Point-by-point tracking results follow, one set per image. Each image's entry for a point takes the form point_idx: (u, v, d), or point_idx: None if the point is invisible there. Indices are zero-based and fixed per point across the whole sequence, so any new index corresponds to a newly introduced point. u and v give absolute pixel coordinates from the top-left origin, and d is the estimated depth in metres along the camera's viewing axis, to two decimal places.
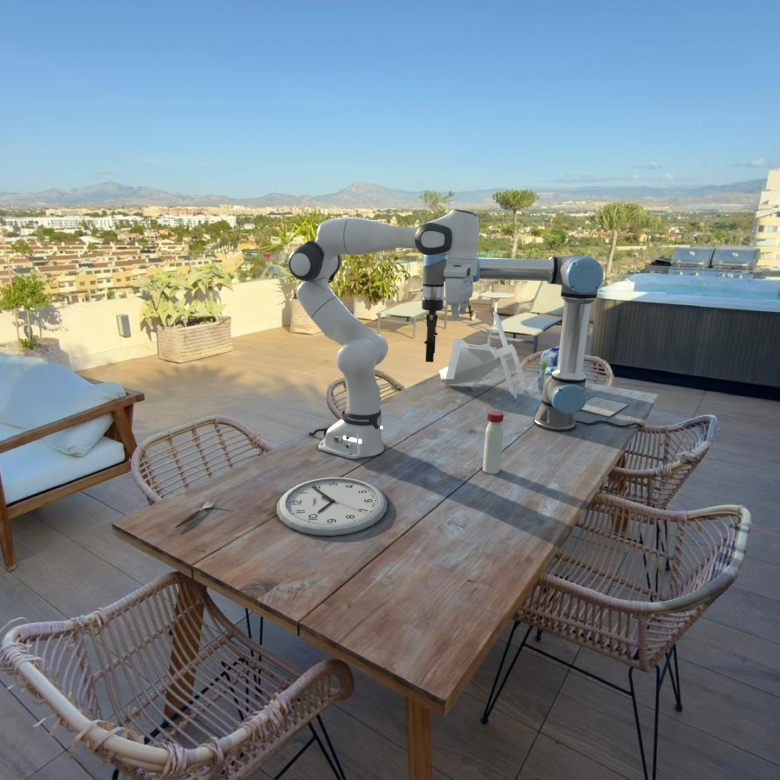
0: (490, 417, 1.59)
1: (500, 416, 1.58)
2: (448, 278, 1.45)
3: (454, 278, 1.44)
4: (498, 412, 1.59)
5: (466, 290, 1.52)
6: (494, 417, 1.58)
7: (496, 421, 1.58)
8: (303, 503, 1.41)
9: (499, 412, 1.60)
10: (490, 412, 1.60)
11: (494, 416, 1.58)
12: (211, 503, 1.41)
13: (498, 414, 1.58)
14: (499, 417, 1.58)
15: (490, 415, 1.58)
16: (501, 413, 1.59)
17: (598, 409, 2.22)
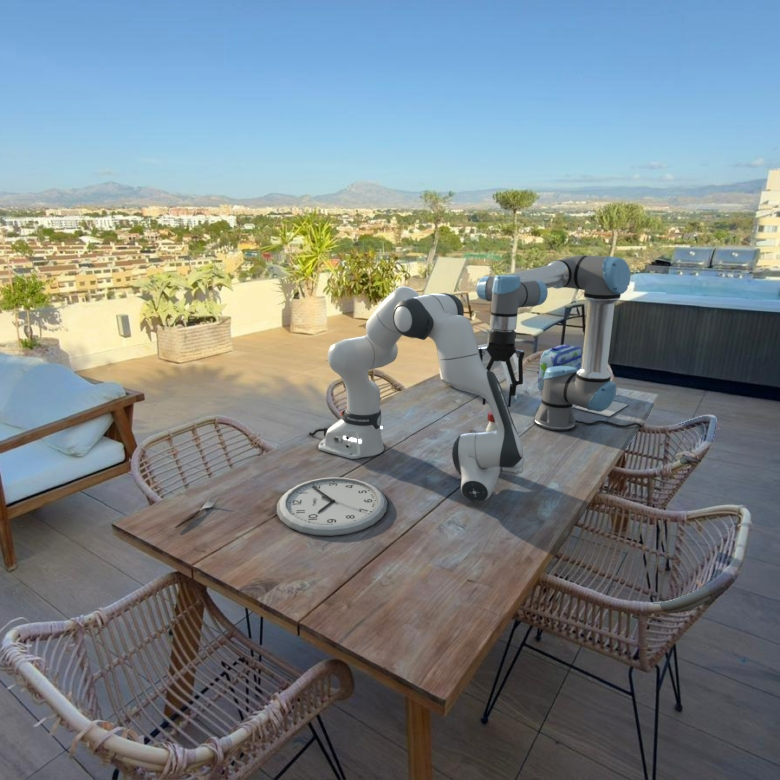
0: (490, 417, 1.59)
1: None
2: None
3: None
4: None
5: None
6: None
7: None
8: (303, 503, 1.41)
9: None
10: (490, 412, 1.60)
11: None
12: (211, 503, 1.41)
13: None
14: None
15: (490, 415, 1.58)
16: None
17: None
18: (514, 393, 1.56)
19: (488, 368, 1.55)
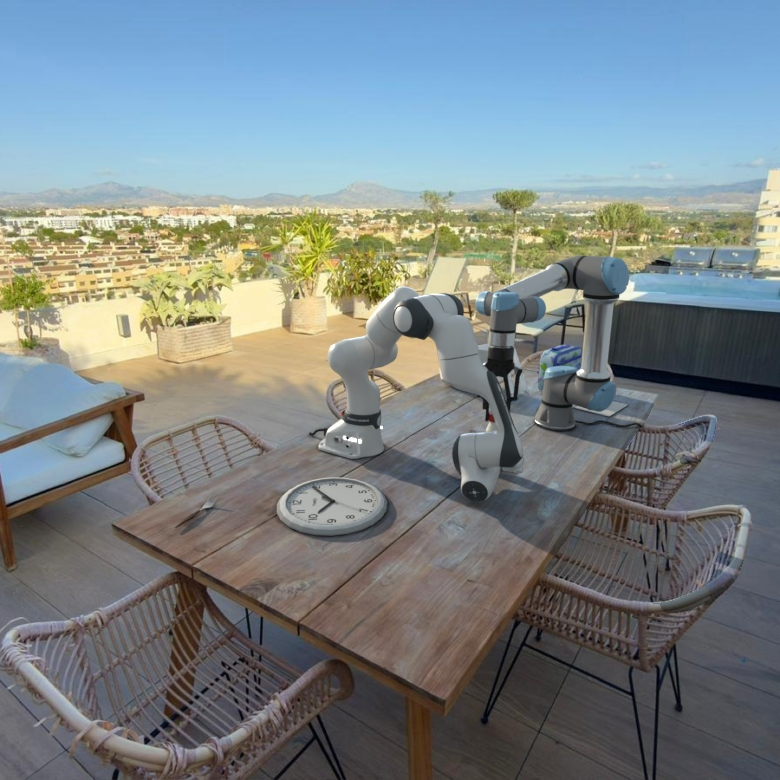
0: (490, 417, 1.59)
1: None
2: None
3: None
4: None
5: None
6: None
7: None
8: (303, 503, 1.41)
9: None
10: (490, 412, 1.60)
11: None
12: (211, 503, 1.41)
13: None
14: None
15: (490, 415, 1.58)
16: None
17: None
18: (509, 409, 1.58)
19: None
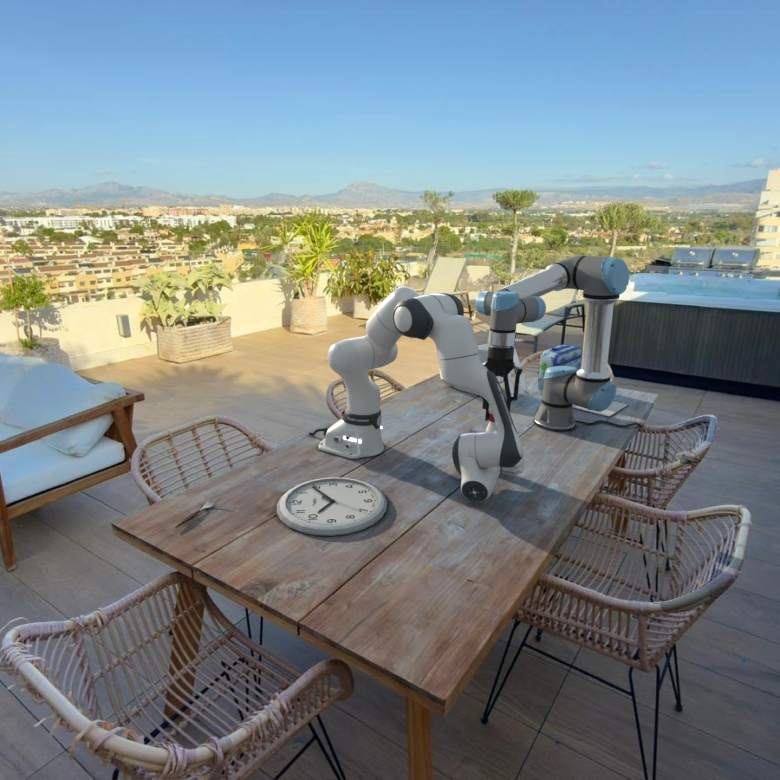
0: None
1: None
2: None
3: None
4: None
5: None
6: None
7: None
8: (303, 503, 1.41)
9: None
10: None
11: None
12: (211, 503, 1.41)
13: None
14: None
15: None
16: None
17: None
18: (509, 409, 1.57)
19: None
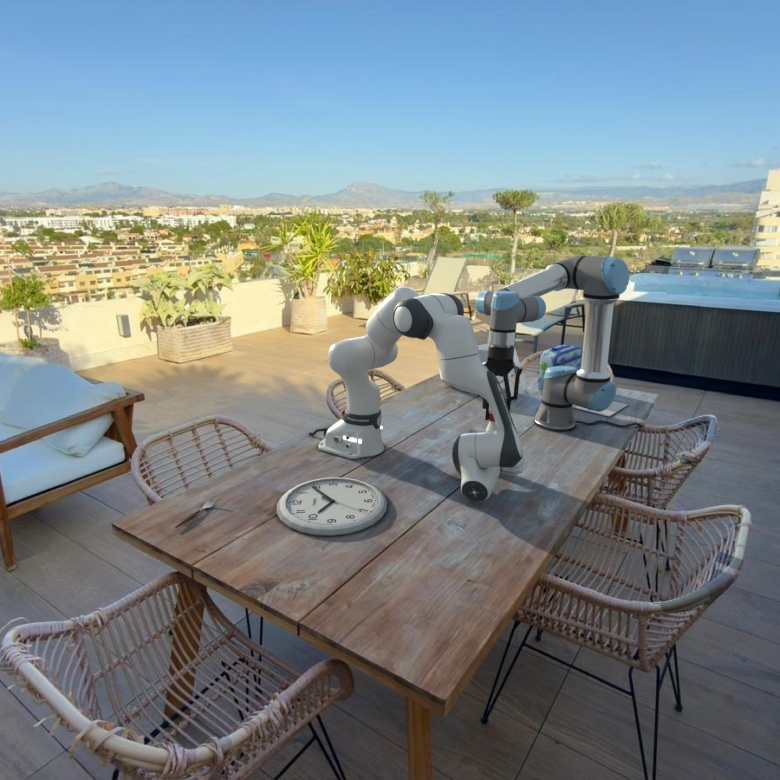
0: None
1: (488, 412, 1.60)
2: None
3: None
4: None
5: None
6: None
7: None
8: (303, 503, 1.41)
9: None
10: None
11: None
12: (211, 503, 1.41)
13: (491, 411, 1.60)
14: None
15: None
16: (491, 413, 1.59)
17: None
18: (509, 408, 1.57)
19: None
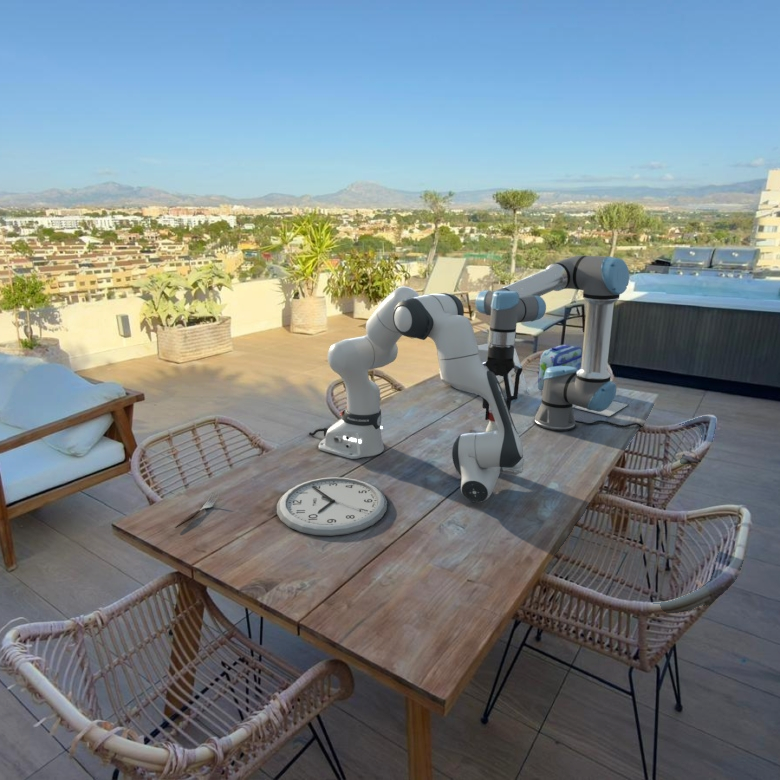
0: (488, 416, 1.59)
1: None
2: None
3: None
4: None
5: None
6: (492, 415, 1.58)
7: (493, 420, 1.58)
8: (303, 503, 1.41)
9: None
10: (490, 410, 1.60)
11: (492, 415, 1.58)
12: (211, 503, 1.41)
13: None
14: None
15: (489, 413, 1.59)
16: None
17: None
18: (509, 408, 1.57)
19: None
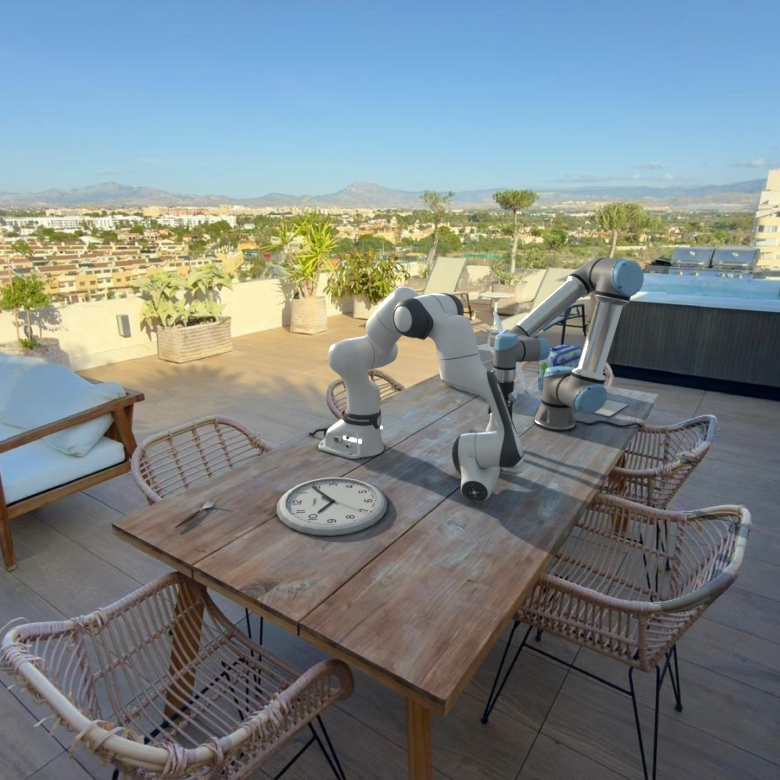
0: None
1: None
2: None
3: None
4: None
5: None
6: None
7: None
8: (303, 503, 1.41)
9: None
10: None
11: None
12: (211, 503, 1.41)
13: None
14: None
15: None
16: None
17: None
18: None
19: None
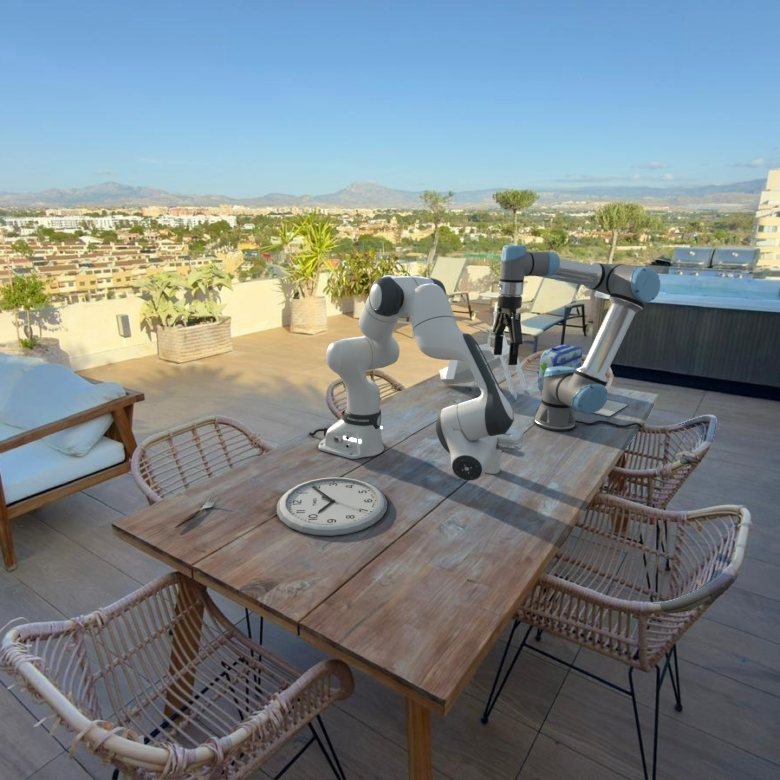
0: None
1: None
2: None
3: None
4: None
5: None
6: None
7: None
8: (303, 503, 1.41)
9: None
10: None
11: None
12: (211, 503, 1.41)
13: None
14: None
15: None
16: None
17: None
18: None
19: None
